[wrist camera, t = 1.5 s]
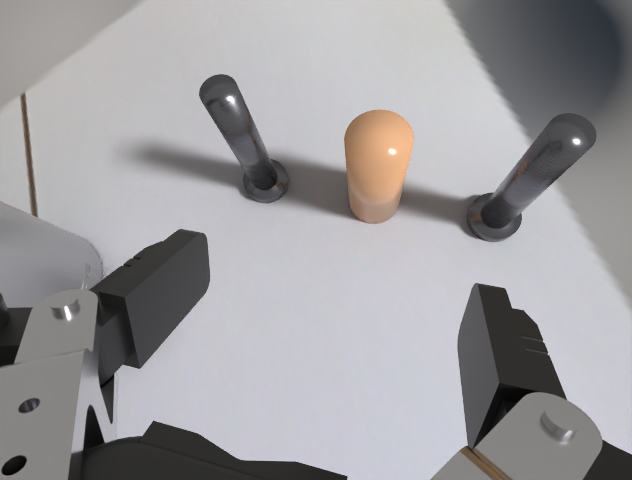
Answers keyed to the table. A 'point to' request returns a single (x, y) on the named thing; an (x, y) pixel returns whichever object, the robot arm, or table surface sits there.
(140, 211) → the table surface
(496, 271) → the table surface
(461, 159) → the table surface
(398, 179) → the canister
